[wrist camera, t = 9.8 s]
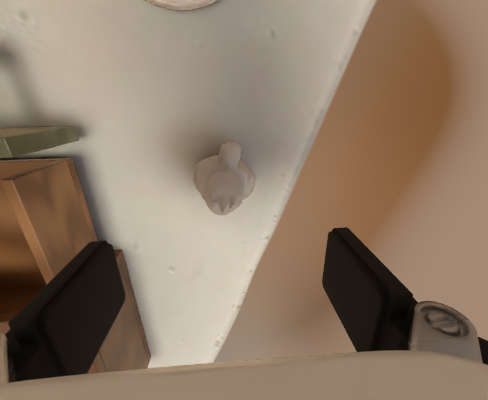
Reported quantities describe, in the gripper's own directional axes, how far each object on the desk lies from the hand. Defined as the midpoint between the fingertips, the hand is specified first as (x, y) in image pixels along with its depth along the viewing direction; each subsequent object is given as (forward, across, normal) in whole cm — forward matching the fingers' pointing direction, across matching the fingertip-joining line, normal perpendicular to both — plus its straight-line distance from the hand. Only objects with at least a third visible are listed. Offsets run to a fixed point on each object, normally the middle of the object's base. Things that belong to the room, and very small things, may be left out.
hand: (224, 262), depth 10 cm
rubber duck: (+14, 0, 0) cm, 14 cm away
